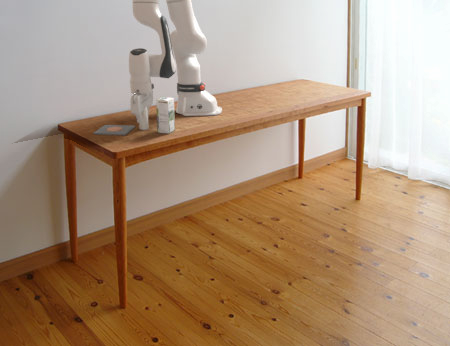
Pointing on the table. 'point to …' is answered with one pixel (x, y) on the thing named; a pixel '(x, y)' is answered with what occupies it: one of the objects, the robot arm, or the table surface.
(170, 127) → the syrup box
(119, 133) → the card
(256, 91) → the table surface
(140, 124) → the tube
